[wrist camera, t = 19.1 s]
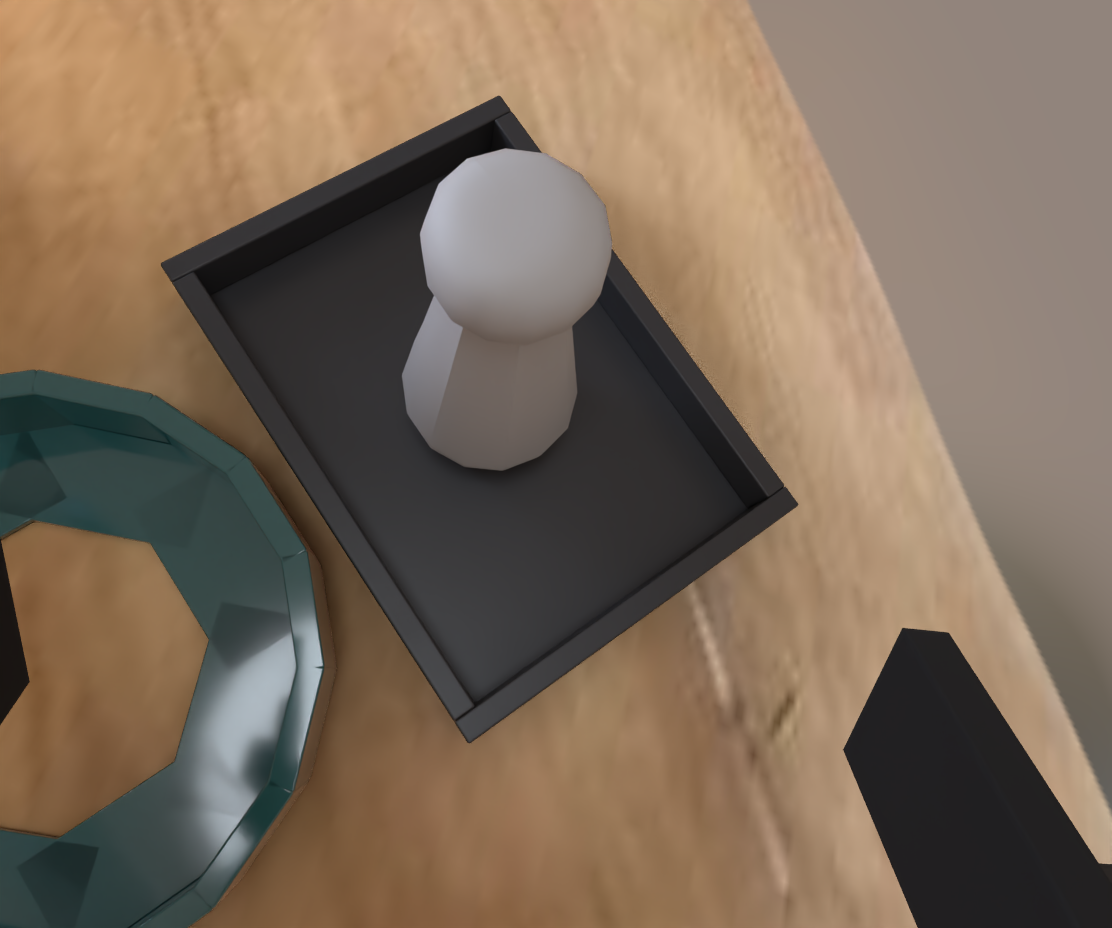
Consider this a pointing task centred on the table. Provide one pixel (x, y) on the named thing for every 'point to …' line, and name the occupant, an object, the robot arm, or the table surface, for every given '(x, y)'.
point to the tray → (461, 492)
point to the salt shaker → (504, 306)
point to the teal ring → (228, 666)
